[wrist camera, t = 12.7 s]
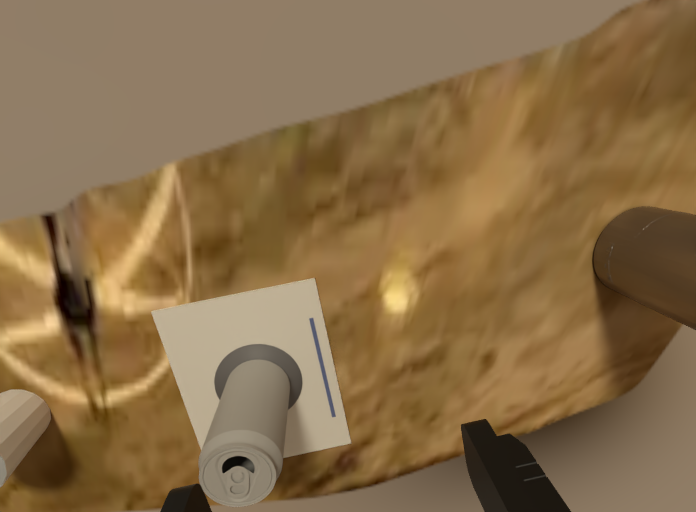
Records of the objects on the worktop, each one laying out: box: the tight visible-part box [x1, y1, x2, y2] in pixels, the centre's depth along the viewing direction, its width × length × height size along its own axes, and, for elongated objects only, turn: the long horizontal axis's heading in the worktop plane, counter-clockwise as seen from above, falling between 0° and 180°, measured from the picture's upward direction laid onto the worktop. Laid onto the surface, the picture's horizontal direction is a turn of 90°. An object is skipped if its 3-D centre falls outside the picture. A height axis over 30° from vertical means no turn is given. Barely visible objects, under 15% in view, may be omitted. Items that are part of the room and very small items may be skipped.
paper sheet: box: [151, 278, 351, 458], centre depth 40 cm, size 16×20×1 cm
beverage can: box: [199, 360, 290, 507], centre depth 34 cm, size 6×6×12 cm
